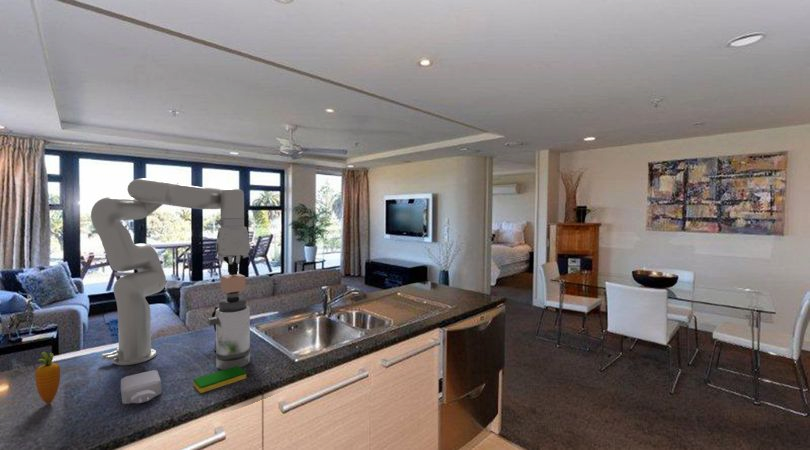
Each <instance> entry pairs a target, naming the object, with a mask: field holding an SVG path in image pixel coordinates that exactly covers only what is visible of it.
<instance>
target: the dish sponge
mask: <svg viewBox="0 0 810 450" xmlns="http://www.w3.org/2000/svg"><path fill="white" fill-rule="evenodd" d="M244 379H247V371H245V370H244V369H243V367H241V368H240V367H239V366H235V367H232V368H229V369H226V370H222V369H221V370H219V371H216V372H213V373H209V374H206V375H203V376H199V377H196V378H194V379H193V387H194V388H195V389H196V390H197V391H198V392H199V394H202V393H206V392H208V391H211V390H214V389H218V388H220V387H223V386H227V385H230V384H233V383H236V382H238V381H242V380H244Z"/></svg>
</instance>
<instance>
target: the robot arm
mask: <svg viewBox="0 0 810 450" xmlns="http://www.w3.org/2000/svg"><path fill="white" fill-rule="evenodd" d="M244 193H245V192H244V191H243V190H242V189H240V188H223V189H221V188H214V187H206V186H204V187H202V186H194V185H184V184H180V183H178V182H176V181H168V180H161V179H154V178H136V179H134V180H132V181H130V182H129V184H128V185H127V194H128V195H129V196H130V197H129V196H108V197H103V198H101V199H99V200H97V201H96V202H95V203H94V205H93V206H92V209H91V211H90V221H91V223H92V225H93V228H94V229H95V231H96V233H97V235H98V237H99V239H100V241H101V244H102V248H103V249H104V253H105V255H106V258H107V261H108V263H109V265H110V267H111V268H112V270H113V271H114V272H115V271H116V272H119V273H121V272H129V271H134V270H136V271H137V272H133V273H129V274H126V275H123V276H121V277H120V278H118V279H117V280H116V281H115V283H114V285H113V294H114V298H115V302H116V307H117V308H116V309H117V327H118V328H117V330H118V333H117V334H118V347H116V350H113V351H112V352H106V353H101V360H107V361H109V360H112V361H113V362H112V363H113V364H114V365H117V366H131V365H136V364H141V363H144V362H147V361H149V360H151V359H153V358H154V357H155V356H156V355H157V350H156V349H153V348H152V330H151V328H152V324H151V321H152V319H151V318H152V317H151V307H150V304H149V303H148V301H147V299H146V297H147V296H151V295H154V294H158V293H160V292H161V291H163V290H164V289H165V287H166V284H167V278H166V274H165V271H164V268H163V266H162V263H161V261H160V257H159V255H158V253H157V251H156V249H155V248H154V247H153V246H152V245H150V244H147V243H134V241H133V238H132V236H131V233H130V231H129V230H128V228H126V226H124V225H123V224H122V223H121V221H128V220H131V221H133V220H135V221H137V220H143V219H145V218H146V217H149V216H150V215H151V214H153V213H154V212H155V211H156V210H158V209H159V208H161V207H162V206H163V205H166V206H171V207H180V208H188V209H195V210H220V218H219V220H216V225H219V226H220V227H218V230H217V236H216V242H215V243H216V247H215V252H216V256H215V257H216V259H217V260H220V261H224V262H225V263H226V264H227V273H228V275H237V274H238V272H239V264H240V263H241V261H242V260H243V259H245V258H249V256H250V255H249V253H250V249H251V248H250V239H249V233H248V231H249V230H248V227H247V226H245V196H244V195H245V194H244Z"/></svg>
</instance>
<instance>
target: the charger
mask: <svg viewBox="0 0 810 450" xmlns="http://www.w3.org/2000/svg"><path fill="white" fill-rule="evenodd" d="M120 394H121V402H122V404H123V405H129V404H141V403H145V402H149V401H150V400H152V399H154V398H155V397H157V396H160V395H161V394H162V381H161V378H160V375H159V372H158V370H154V369H153V370H148V371H144V372H140V373H136V374H131V375H126V376H124V377H122V378H121V379H120Z"/></svg>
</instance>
